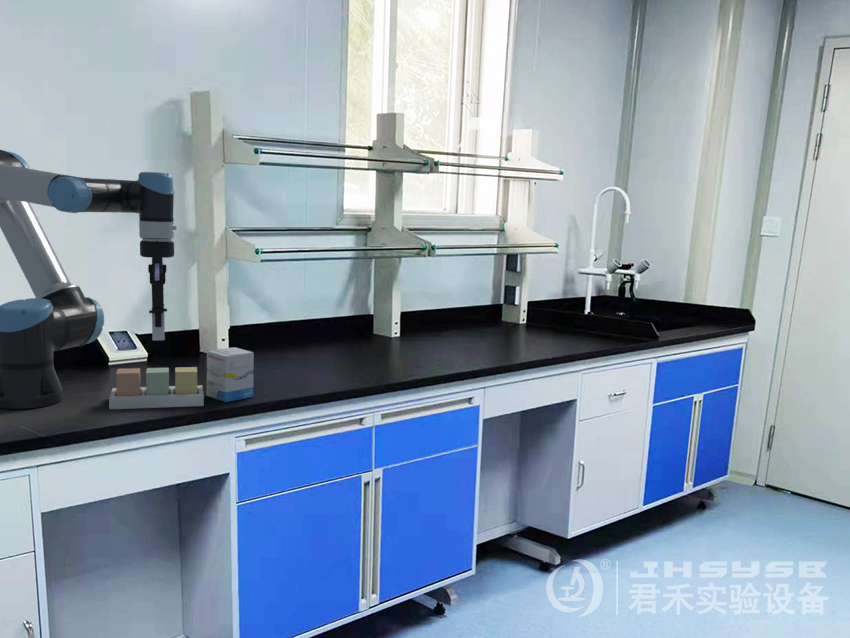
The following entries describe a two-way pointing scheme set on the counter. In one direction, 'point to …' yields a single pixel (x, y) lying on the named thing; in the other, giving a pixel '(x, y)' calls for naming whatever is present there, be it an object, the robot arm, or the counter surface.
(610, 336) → the counter surface
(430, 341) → the counter surface
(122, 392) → the terracotta button
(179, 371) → the ochre button
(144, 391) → the board
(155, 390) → the sage button
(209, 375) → the ink box
